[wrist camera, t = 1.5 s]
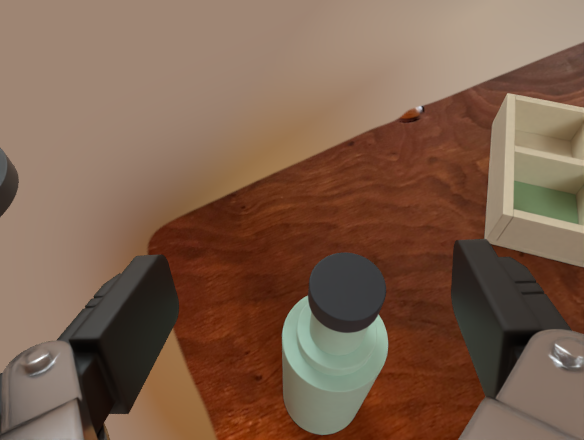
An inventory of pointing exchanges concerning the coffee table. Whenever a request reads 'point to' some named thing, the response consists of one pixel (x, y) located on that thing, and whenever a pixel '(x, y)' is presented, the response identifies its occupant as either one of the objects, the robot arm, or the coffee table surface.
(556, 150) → the cream rectangular tray
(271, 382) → the coffee table surface
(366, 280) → the bottle
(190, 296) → the coffee table surface
